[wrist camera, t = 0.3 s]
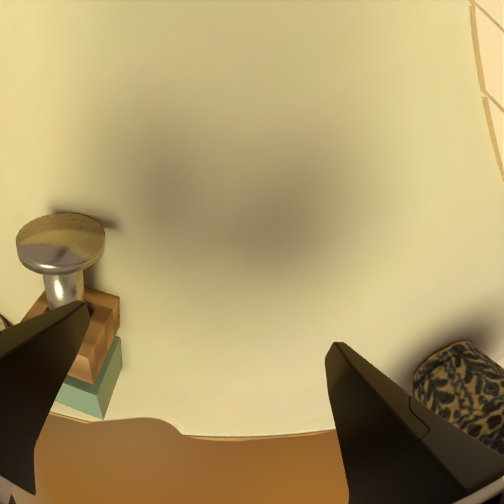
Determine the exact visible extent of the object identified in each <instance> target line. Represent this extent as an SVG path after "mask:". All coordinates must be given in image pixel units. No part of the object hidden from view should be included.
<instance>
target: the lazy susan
mask: <svg viewBox="0 0 504 504" xmlns="http://www.w3.org/2000/svg"><path fill="white" fill-rule="evenodd" d="M469 2H470V3H471V4H472V6H469V7H470V21H471V31H472V39H473V47H474V54H475V60H476V67H477V73H478V78H479V84H480V89H481V91H482V92H483V93H484V94H485V95H486V96H487V97H482V100H483V105H484V110H485V115H486V119H487V124H488V128H489V132H490V137H491V141H492V145H493V149H494V152H495V156H496V159H497V163H498V166H499V170H500V173H501V176H502V179H503V181H504V114H503V113H504V0H469ZM502 112H503V113H502Z"/></svg>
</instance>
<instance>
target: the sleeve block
mask: <svg viewBox="0 0 504 504" xmlns="http://www.w3.org/2000/svg"><path fill="white" fill-rule="evenodd" d="M84 293H85V303H86V304H87V307H88V312H89V316H90V324H89V327H88V330H87V332H86V335H85V337H84V340H83V342H82V345H81V347H80V350H79V352H78V355H77V357H76V359H75V361H74V363H73V364H72V366H71V368H70V370H69V372H68V374H67V375H69V376H72V377H74V378H77V379H80V380H82V381H85V382H88V383H90V384H93V385H94V383H95V381H96V378H97V376H98V373H99V371H100V369H101V366H102V364H103V362H104V359H105V357H106V355H107V352H108V350H109V348H110V346H111V344H112V341H113V339H114V337H115V335H116V333H117V330H118V328H119V326H120V318H119V297H117V296H113V295H110V294H106V293H103V292H100V291H97V290H93V289H90V288H87V287H84ZM48 311H49V306H48V301H47V296H46V291H44V292H43V293H42V295H41V296H40V297H39V298H38V300H37V301H36V302H35V303H34V305H33V306H32V307H31V309H30V310H29V311H28V313H27V314H26V315H25V317H24V318H23V319H22V321H21V322H23V321H26V320H28V319H31V318H33V317H35V316H38V315H40V314H43V313H45V312H48ZM21 322H20V323H21Z"/></svg>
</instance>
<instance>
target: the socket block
mask: <svg viewBox="0 0 504 504" xmlns="http://www.w3.org/2000/svg"><path fill="white" fill-rule="evenodd" d="M121 369H122V358H121V342H120V338H119V337H114V339H113V341H112V344H111V346H110V348H109V350H108V352H107V355H106V357H105V359H104V362H103V364H102V366H101V369H100V371H99V373H98V376H97V378H96V381H95V383H94V385H93V384H90V383H88V382H85V381H82V380H80V379H77V378H74V377H72V376H69V375H67V376H66V378H65V380H64V382H63V384H62V386H61V388H60V390H59V392H58V394H57V396H56V399H55V401H57V402H59V403H61V404H64V405H66V406H68V407H71V408H73V409H76V410H78V411H81V412H84V413H86V414H89V415H92V416H94V417H97V418H100V419H103V420H104V417H105V414H106V411H107V408H108V405H109V402H110V399H111V396H112V393H113V390H114V388H115V385H116V382H117V379H118V377H119V374H120V371H121Z"/></svg>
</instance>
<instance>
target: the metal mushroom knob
mask: <svg viewBox="0 0 504 504" xmlns="http://www.w3.org/2000/svg"><path fill="white" fill-rule="evenodd" d="M16 246H17V253H18V257H19V260H20V262H21V263H22V264H23V265H24V266H25V267H26V268H28V269H29V270H31V271H34V272H36V273H40V274H43V279H44V285H45V291H46V296H47V301H48V306H49V311H50V310H53V309H55V308H58V307H60V306H63V305H65V304H68V303H70V302H73V301H75V300H79V301H83V302H85V293H84V281H83V270H84V269H86V268H88V267H89V266H91V265H93V264H94V263H95V262H96V261H98V259H99V258H100V257H101V256H102V254H103V252H104V248H105V232H104V229H103V227H102V226H101V225H100V224H99V223H98V222H97V221H95V220H93V219H91V218H89V217H87V216H83V215H79V214H73V213H57V214H50V215H45V216H42V217H39V218H36V219H34V220H32V221H30V222H29V223H27V224H26V225H25V226H24V227H22V229H21V230H20V231H19V233H18V234H17V237H16Z"/></svg>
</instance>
